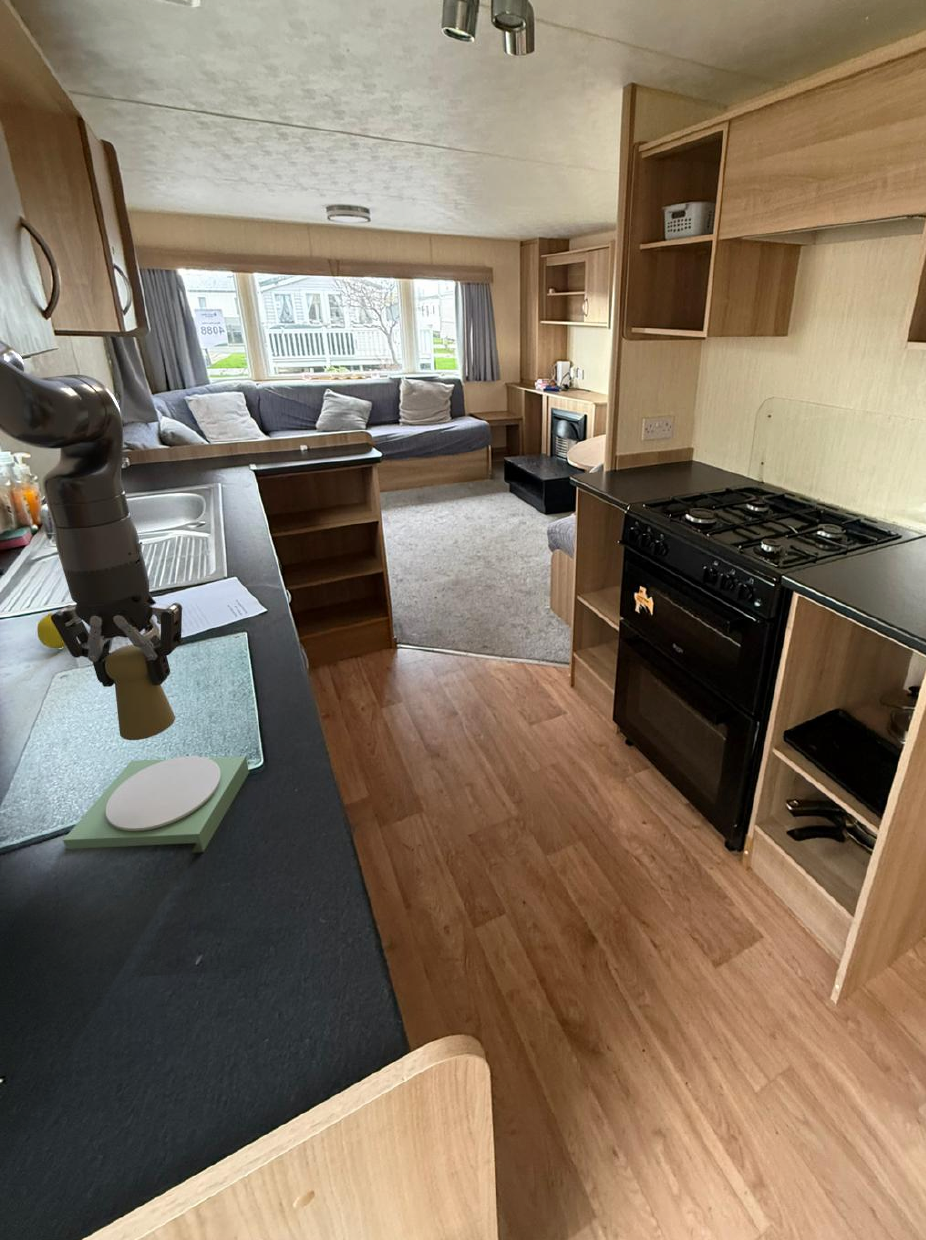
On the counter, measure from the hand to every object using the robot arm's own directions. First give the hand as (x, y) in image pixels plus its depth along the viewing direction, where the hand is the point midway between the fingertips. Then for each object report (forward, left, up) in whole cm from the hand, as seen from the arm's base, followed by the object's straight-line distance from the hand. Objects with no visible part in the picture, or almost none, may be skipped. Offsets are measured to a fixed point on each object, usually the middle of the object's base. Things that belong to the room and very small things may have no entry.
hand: (136, 682), depth 74 cm
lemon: (-44, +44, -20) cm, 66 cm away
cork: (0, 0, -7) cm, 7 cm away
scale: (0, -1, -20) cm, 20 cm away
